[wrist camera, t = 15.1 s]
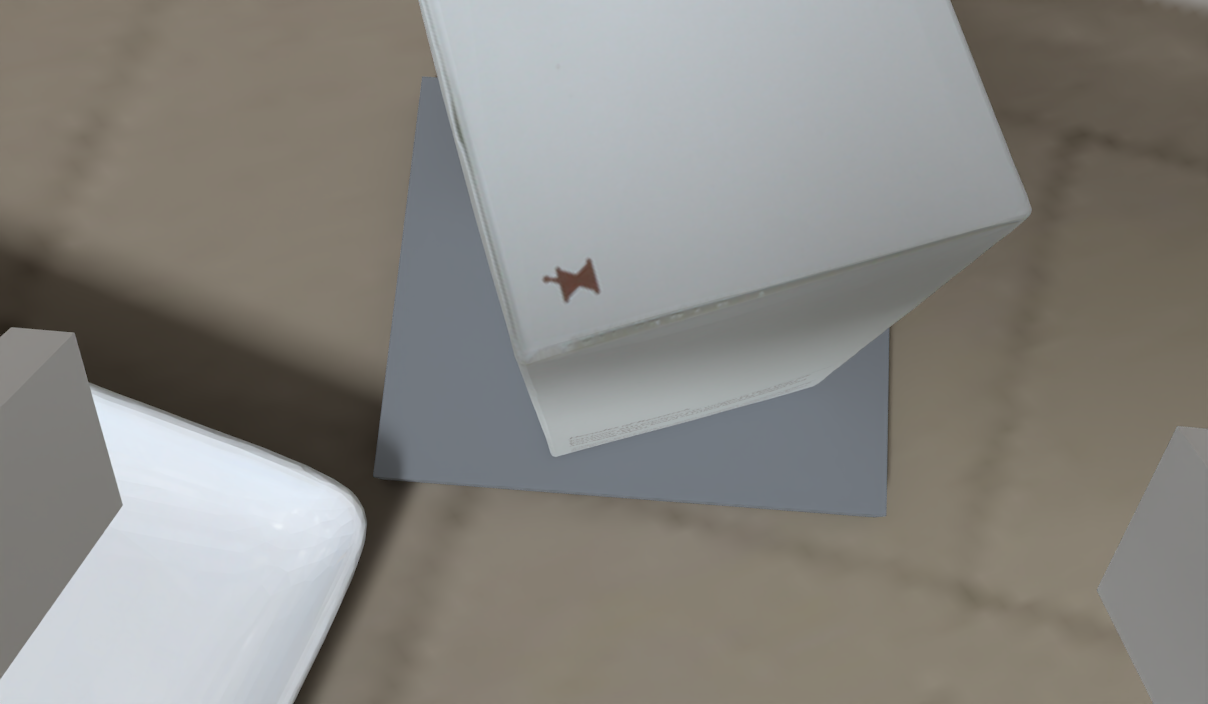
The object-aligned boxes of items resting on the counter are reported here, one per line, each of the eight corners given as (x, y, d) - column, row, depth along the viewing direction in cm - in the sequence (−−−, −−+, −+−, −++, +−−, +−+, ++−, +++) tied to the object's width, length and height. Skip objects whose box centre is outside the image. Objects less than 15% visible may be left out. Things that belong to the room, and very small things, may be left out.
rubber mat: (882, 127, 27) (892, 112, 26) (874, 517, 25) (886, 516, 24) (428, 93, 27) (422, 76, 26) (381, 479, 25) (373, 476, 24)
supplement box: (825, 389, 25) (1056, 232, 12) (547, 463, 24) (500, 375, 12) (743, 131, 26) (878, -241, 14) (479, 196, 26) (374, -128, 13)
